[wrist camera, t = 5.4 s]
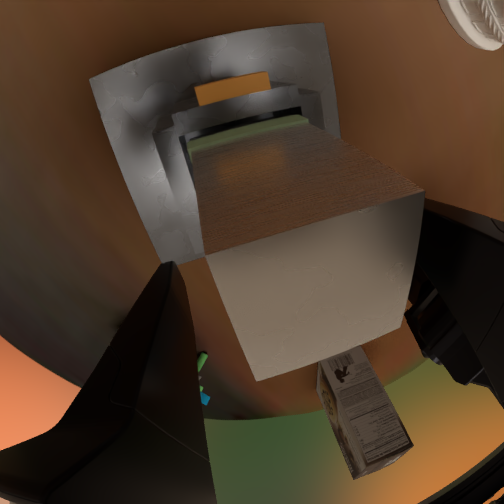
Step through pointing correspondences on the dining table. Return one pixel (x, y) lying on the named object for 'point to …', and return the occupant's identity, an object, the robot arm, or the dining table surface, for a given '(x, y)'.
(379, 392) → the coffee box
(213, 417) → the dining table surface
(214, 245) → the block
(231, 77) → the stand
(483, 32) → the decorative container
